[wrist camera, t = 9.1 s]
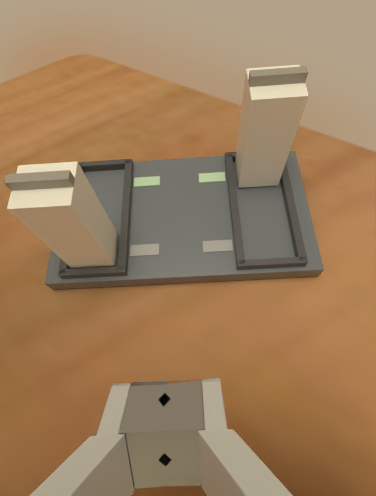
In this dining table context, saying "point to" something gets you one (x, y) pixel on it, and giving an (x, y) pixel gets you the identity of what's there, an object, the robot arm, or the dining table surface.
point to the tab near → (63, 213)
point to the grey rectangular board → (196, 225)
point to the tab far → (269, 122)
